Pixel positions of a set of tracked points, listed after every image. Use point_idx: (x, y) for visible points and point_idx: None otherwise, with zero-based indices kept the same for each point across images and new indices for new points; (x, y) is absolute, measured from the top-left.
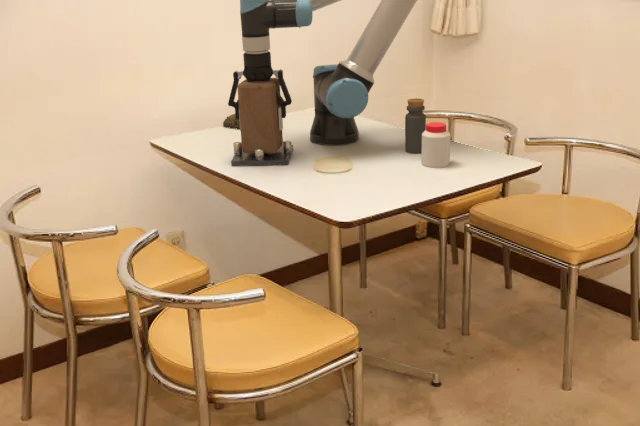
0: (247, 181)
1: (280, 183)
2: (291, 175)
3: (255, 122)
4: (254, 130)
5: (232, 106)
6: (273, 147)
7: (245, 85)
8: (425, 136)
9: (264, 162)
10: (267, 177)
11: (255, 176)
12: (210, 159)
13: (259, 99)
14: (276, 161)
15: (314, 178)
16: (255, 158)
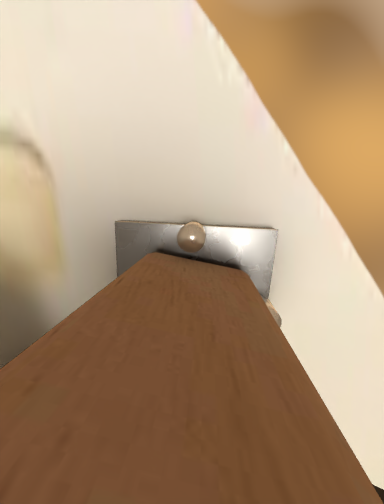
0: (220, 66)
1: (121, 38)
2: (101, 122)
3: (194, 306)
4: (203, 289)
5: (380, 490)
6: (146, 256)
7: None
8: None
9: (181, 224)
10: (164, 106)
11: (200, 120)
12: (332, 298)
13: (84, 469)
14: (147, 222)
15: (36, 87)
16: (207, 247)
